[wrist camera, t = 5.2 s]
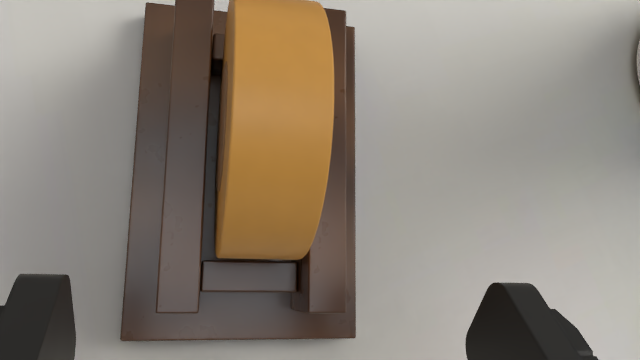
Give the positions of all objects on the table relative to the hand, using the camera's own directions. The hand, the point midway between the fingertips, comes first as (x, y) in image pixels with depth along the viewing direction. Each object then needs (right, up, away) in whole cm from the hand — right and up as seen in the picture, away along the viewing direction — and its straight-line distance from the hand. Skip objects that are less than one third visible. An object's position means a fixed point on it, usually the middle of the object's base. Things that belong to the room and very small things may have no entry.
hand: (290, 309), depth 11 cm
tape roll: (-2, +3, +9) cm, 10 cm away
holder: (-2, +3, +10) cm, 11 cm away
